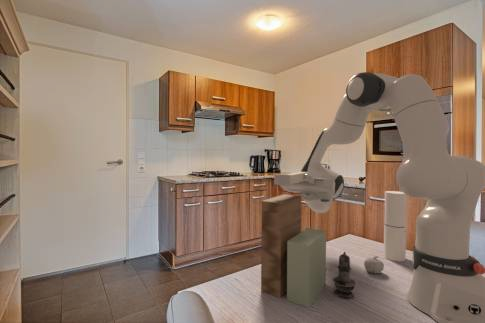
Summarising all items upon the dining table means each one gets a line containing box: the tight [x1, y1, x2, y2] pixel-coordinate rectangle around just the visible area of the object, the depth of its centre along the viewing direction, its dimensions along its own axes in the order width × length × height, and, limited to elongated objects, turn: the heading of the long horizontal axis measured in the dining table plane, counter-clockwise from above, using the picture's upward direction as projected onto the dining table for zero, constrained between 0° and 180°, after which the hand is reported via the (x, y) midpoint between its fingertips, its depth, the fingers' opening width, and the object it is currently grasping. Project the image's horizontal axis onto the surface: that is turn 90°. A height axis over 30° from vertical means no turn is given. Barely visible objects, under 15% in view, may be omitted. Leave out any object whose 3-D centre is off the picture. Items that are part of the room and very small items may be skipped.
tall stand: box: [260, 194, 302, 298], centre depth 79 cm, size 6×15×26 cm, turn 146°
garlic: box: [363, 255, 385, 274], centre depth 87 cm, size 6×5×5 cm
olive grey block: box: [286, 227, 327, 308], centre depth 74 cm, size 6×15×16 cm, turn 146°
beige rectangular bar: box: [273, 171, 309, 186], centre depth 86 cm, size 5×20×3 cm, turn 146°
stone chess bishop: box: [332, 251, 356, 300], centre depth 73 cm, size 6×6×12 cm
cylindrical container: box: [383, 190, 408, 262], centre depth 99 cm, size 7×7×25 cm
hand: (299, 175), depth 90 cm, fingers closed on beige rectangular bar, 3 cm apart
